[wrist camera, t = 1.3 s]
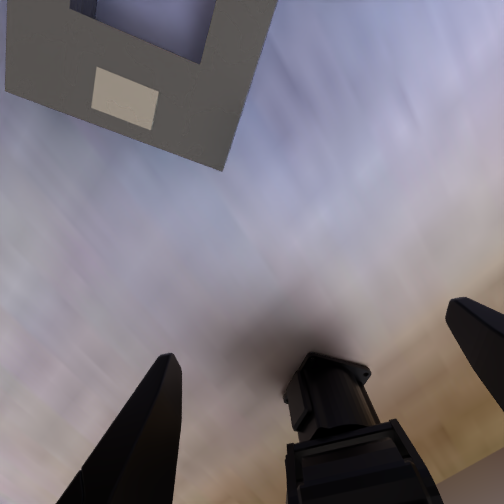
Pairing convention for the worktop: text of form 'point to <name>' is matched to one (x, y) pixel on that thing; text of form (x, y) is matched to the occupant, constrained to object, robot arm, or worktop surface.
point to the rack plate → (138, 74)
